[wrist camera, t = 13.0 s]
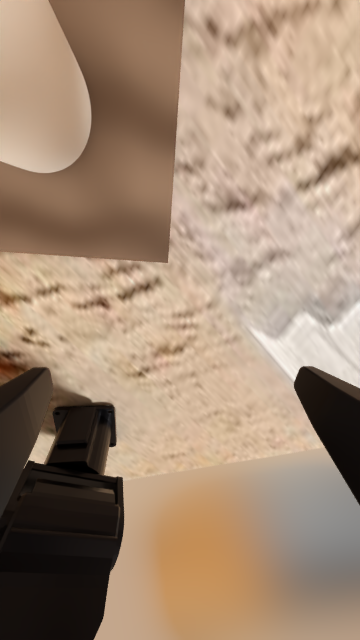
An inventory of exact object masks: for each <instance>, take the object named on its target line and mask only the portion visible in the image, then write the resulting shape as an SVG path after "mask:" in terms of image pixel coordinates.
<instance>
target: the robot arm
mask: <svg viewBox="0 0 360 640" xmlns="http://www.w3.org/2000/svg"><path fill="white" fill-rule="evenodd" d="M294 389H295V391H296V393H297V395H298V397H299V399H300V401H301V404H302V406H303V408H304V410H305V412H306V414H307V416H308V418H309V420H310V422H311V424H312V426H313V428H314V430H315V431H316V433H317V435H318V436H319V438H320V440H321V441H322V443H323V445H324V446H325V448H326V450H327V451H328V453H329V455H330V456H331V458H332V460H333V461H334V463H335V465H336V466H337V468H338V470H339V471H340V473H341V475H342V476H343V478H344V480H345V482H346V483H347V485H348V486H349V488H350V490H351V492H352V493H353V495H354V496H355V498H356V500H357V502H358V503H359V505H360V388H358V387H356V386H353V385H351V384H349V383H347V382H345V381H343V380H341V379H339V378H336V377H334V376H332V375H330V374H328V373H326V372H324V371H321V370H319V369H317V368H315V367H312V366H303V367H301V368H300V369H299V372H298V374H297V377H296V379H295V382H294ZM52 394H53V383H52V378H51V373H50V370H49V368H47V367H34V368H32V369H30V370H28V371H27V372H25V373H23V374H21V375H20V376H18V377H16V378H14V379H12V380H11V381H9V382H7V383H5V384H4V385H2V386H0V640H94V638H95V636H96V633H97V631H98V629H99V627H100V624H101V622H102V619H103V616H104V609H105V602H106V595H107V588H108V581H109V575H110V571H111V570H112V569H113V567H114V565H115V563H116V560H117V557H118V554H119V550H120V547H121V542H122V537H123V529H124V503H123V478H122V477H111V476H106V475H104V472H105V467H106V461H107V455H108V450H109V447H114V446H116V442H117V437H116V417H115V407H113V406H84V407H57V408H55V409H54V411H53V418H54V422H55V427H56V431H57V434H56V437H55V439H54V441H53V444H52V446H51V448H50V451H49V453H48V455H47V458H46V460H45V462H44V464H39V463H34V462H35V461H29V460H28V458H29V456H30V454H31V451H32V449H33V447H34V445H35V443H36V440H37V438H38V435H39V432H40V429H41V426H42V423H43V420H44V418H45V415H46V412H47V409H48V406H49V403H50V400H51V397H52ZM110 410H111V411H110ZM27 460H28V462H27ZM26 462H27V464H26ZM25 464H26V466H25ZM24 466H25V468H24Z"/></svg>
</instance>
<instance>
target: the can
mask: <svg viewBox="0 0 360 640" xmlns="http://www.w3.org/2000/svg"><path fill="white" fill-rule="evenodd" d="M90 129H91V104H90V98H89V93H88V90H87V86H86V83H85V80H84V77H83V75H82V72H81V70H80V67H79V65H78V63H77V61H76V58H75V56H74V54H73V52H72V50H71V48H70V45H69V43H68V41H67V39H66V37H65V35H64V33H63V31H62V28H61V26H60V24H59V22H58V20H57V18H56V16H55V13H54V11H53V9H52V7H51V5H50V3H49V1H48V0H0V161H2V162H4V163H7V164H10V165H13V166H16V167H18V168H21V169H25V170H28V171H32V172H37V173H52V172H57V171H60V170H63V169H65V168H67V167H68V166H70V165H71V164H72V163H74V162H75V161H76V160H77V159H78V157H79V156H80V155H81V153H82V152H83V150H84V148H85V146H86V144H87V141H88V138H89V134H90Z"/></svg>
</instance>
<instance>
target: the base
mask: <svg viewBox="0 0 360 640" xmlns="http://www.w3.org/2000/svg"><path fill="white" fill-rule="evenodd" d="M48 1H49V3H50V5H51V7H52V9H53V11H54V13H55V16H56V18H57V20H58V22H59V24H60V26H61V28H62V31H63V33H64V35H65V37H66V39H67V41H68V43H69V45H70V48H71V50H72V52H73V54H74V56H75V58H76V61H77V63H78V65H79V67H80V70H81V72H82V75H83V77H84V80H85V83H86V86H87V90H88V93H89V98H90V104H91V129H90V134H89V138H88V141H87V144H86V146H85V148H84V150H83V152H82V153H81V155H80V156H79V157H78V159H77V160H76V161H75V162H74V163H72V164H71V165H70V166H68V167H67V168H65V169H63V170H60V171H57V172H52V173H37V172H32V171H28V170H25V169H21V168H18V167H16V166H13V165H10V164H7V163H4V162H2V161H0V251H1V252H15V253H30V254H45V255H60V256H74V257H89V258H104V259H119V260H133V261H148V262H163V263H168V252H169V237H170V222H171V206H172V191H173V175H174V160H175V144H176V129H177V114H178V98H179V83H180V67H181V52H182V37H183V21H184V6H185V0H48Z"/></svg>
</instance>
